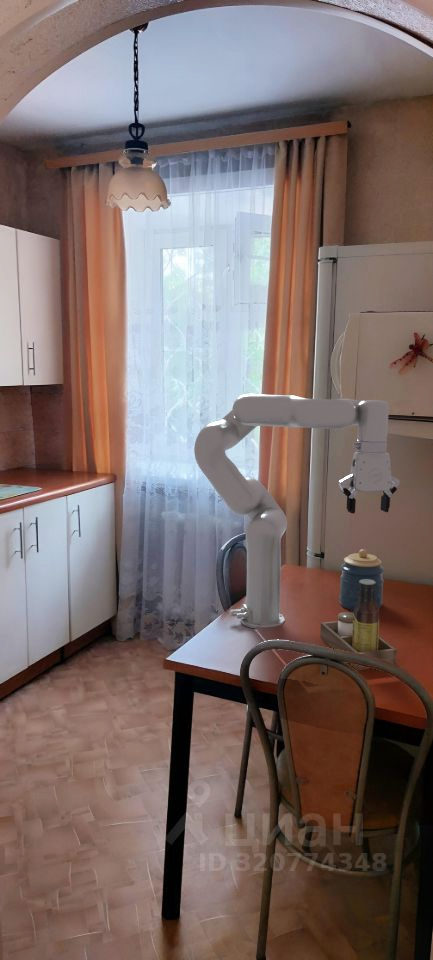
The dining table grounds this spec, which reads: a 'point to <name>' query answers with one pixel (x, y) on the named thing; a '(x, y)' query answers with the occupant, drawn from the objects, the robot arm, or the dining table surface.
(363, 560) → the canister
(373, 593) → the sauce bottle
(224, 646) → the dining table surface
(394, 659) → the caddy
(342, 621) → the spice jar
